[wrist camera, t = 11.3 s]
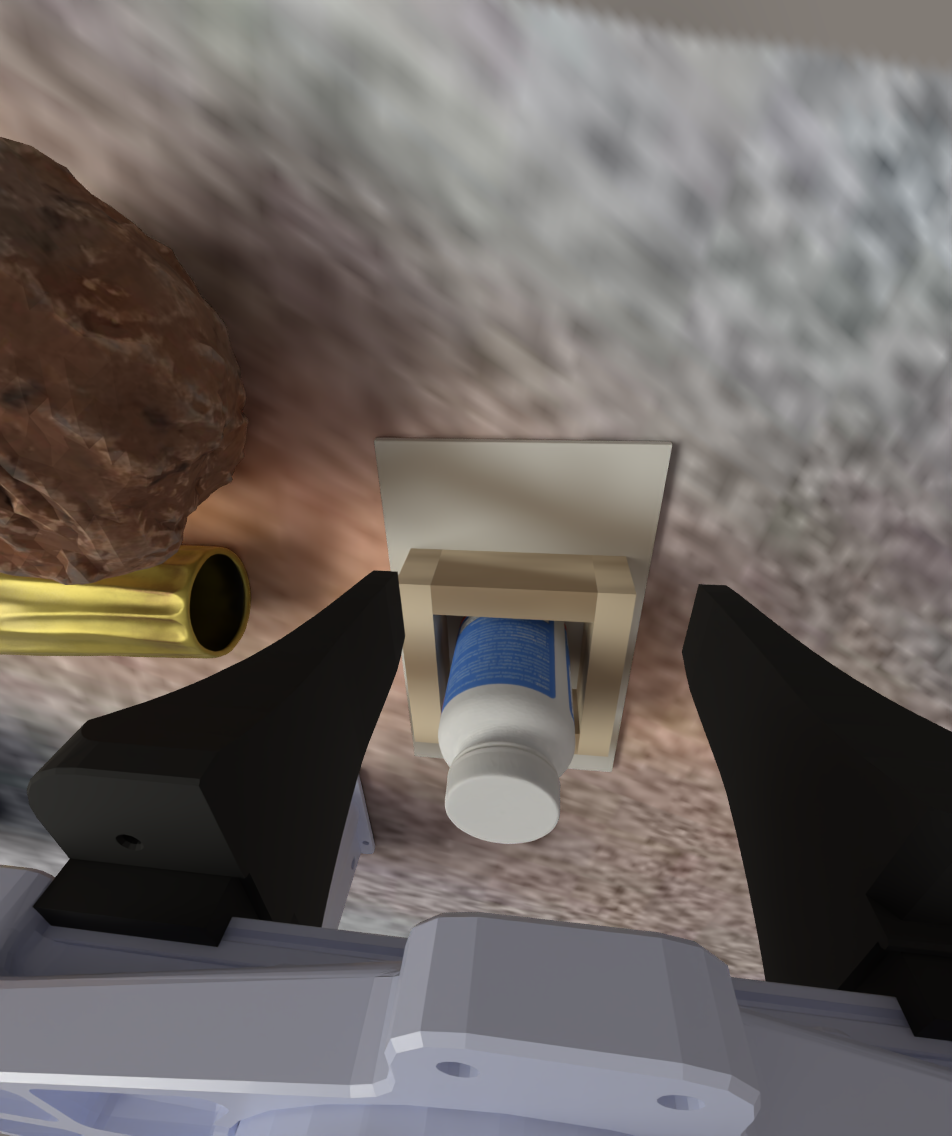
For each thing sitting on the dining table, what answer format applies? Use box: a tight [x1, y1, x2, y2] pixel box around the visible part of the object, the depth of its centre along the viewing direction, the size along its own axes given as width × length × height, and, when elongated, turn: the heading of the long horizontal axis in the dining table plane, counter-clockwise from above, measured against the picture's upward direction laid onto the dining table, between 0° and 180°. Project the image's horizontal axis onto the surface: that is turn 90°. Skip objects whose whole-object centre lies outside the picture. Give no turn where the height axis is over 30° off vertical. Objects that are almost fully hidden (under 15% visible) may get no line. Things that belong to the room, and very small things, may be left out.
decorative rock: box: [0, 137, 249, 585], centre depth 17 cm, size 13×11×10 cm
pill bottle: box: [438, 616, 575, 844], centre depth 21 cm, size 6×5×10 cm
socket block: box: [374, 438, 672, 772], centre depth 25 cm, size 20×12×3 cm, turn 1°
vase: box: [0, 545, 251, 658], centre depth 24 cm, size 6×6×14 cm
